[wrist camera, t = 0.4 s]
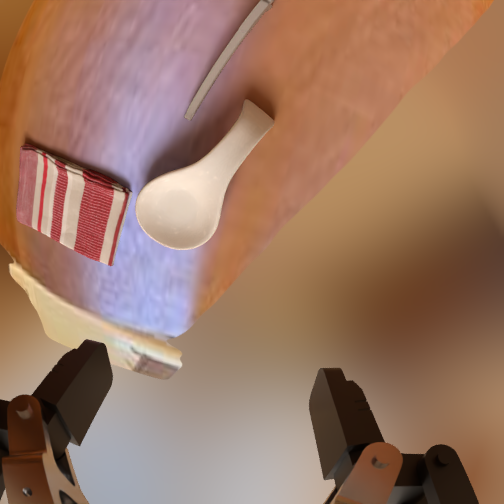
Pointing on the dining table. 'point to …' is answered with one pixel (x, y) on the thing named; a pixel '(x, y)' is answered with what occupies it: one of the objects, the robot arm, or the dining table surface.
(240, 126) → the spoon rest
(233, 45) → the caliper
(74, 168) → the dish towel
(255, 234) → the dining table surface
